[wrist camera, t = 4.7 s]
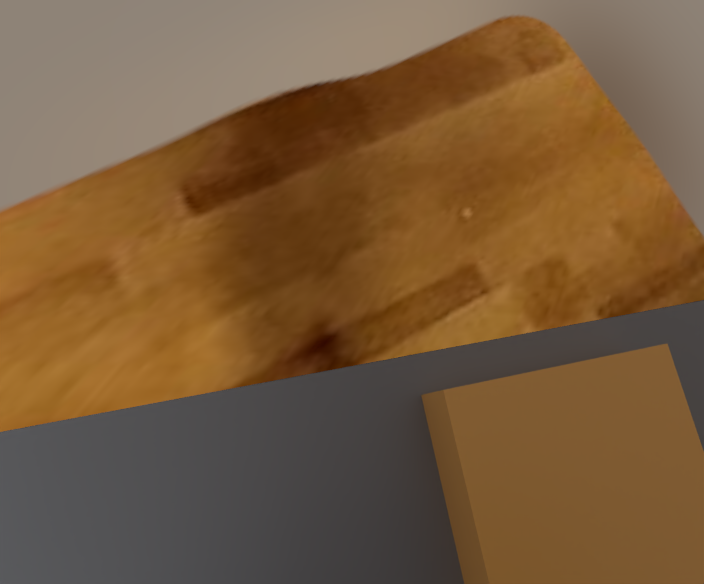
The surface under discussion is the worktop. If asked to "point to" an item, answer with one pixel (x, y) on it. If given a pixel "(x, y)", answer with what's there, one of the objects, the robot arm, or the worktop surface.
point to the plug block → (387, 471)
